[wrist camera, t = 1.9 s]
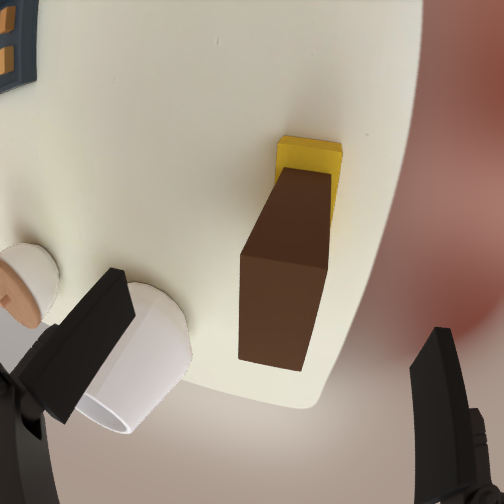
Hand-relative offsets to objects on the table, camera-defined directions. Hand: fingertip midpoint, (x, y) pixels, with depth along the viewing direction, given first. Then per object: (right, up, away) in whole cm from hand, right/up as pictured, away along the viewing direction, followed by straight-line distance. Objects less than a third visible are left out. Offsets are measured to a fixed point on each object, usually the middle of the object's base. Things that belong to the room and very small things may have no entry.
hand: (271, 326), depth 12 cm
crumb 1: (-26, +27, +4) cm, 38 cm away
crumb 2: (-26, +23, +7) cm, 36 cm away
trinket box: (-29, +2, +23) cm, 37 cm away
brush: (+3, +7, +10) cm, 13 cm away
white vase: (-12, -4, +22) cm, 26 cm away
